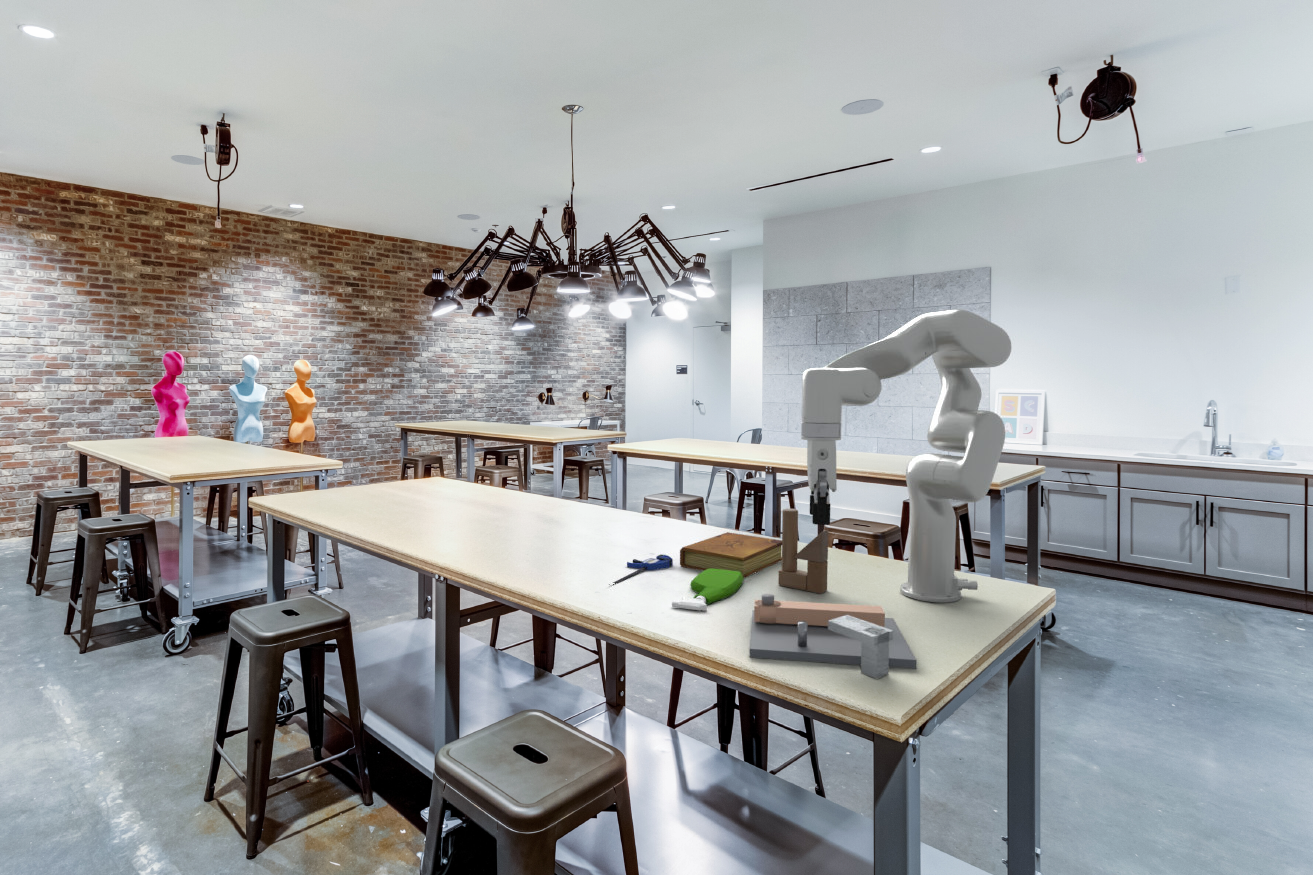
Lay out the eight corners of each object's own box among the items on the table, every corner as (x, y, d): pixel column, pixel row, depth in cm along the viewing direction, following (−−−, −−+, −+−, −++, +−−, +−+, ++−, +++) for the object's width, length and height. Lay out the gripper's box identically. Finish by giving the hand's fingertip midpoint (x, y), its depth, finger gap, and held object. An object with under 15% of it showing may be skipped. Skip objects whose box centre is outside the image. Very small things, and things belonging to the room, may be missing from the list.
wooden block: (821, 594, 145) (822, 515, 144) (777, 585, 152) (778, 509, 150) (827, 590, 148) (829, 512, 147) (785, 582, 154) (786, 507, 153)
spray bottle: (747, 583, 154) (714, 617, 132) (703, 578, 159) (665, 610, 136) (747, 571, 154) (714, 603, 132) (703, 566, 158) (665, 597, 136)
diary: (724, 551, 187) (725, 531, 187) (784, 561, 176) (784, 540, 176) (679, 567, 169) (680, 545, 168) (742, 580, 157) (743, 556, 157)
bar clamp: (645, 551, 176) (677, 555, 171) (645, 559, 176) (677, 564, 171) (571, 585, 148) (607, 592, 143) (571, 595, 148) (607, 603, 143)
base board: (892, 625, 125) (893, 618, 125) (916, 668, 106) (916, 659, 106) (752, 617, 130) (752, 610, 130) (749, 657, 110) (749, 648, 110)
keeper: (795, 653, 112) (796, 613, 112) (821, 644, 116) (822, 606, 115) (865, 683, 100) (866, 639, 100) (892, 672, 104) (893, 630, 104)
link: (754, 622, 121) (754, 599, 121) (754, 613, 126) (754, 591, 126) (884, 630, 117) (885, 606, 117) (880, 620, 122) (880, 597, 122)
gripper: (846, 435, 116) (843, 529, 117) (836, 429, 133) (834, 512, 134) (803, 434, 118) (801, 527, 119) (799, 429, 135) (798, 511, 136)
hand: (819, 519), depth 127 cm, fingers open, 9 cm apart
